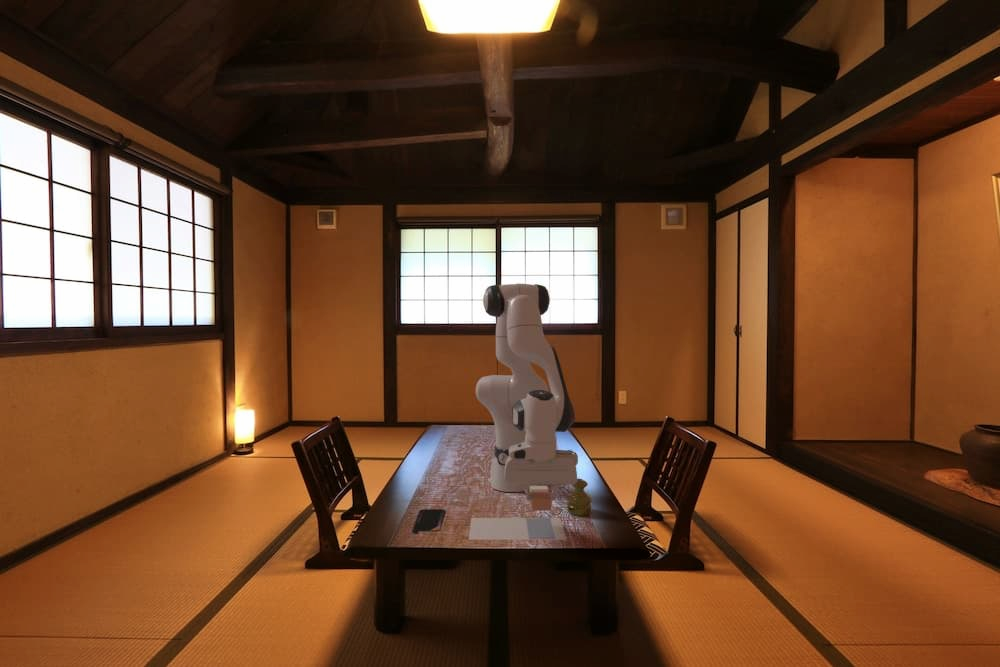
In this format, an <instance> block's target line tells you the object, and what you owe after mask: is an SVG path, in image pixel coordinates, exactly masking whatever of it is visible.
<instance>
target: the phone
mask: <svg viewBox="0 0 1000 667" xmlns="http://www.w3.org/2000/svg"><path fill="white" fill-rule="evenodd" d="M445 515H446V509H444V508H443V509H442V508H441V509H439V508H438V509H436V508H435V509H433V508H432V509H431V508H430V509H429V508H424V509H420V510H419V512H418V514H417V516H416V519H415V522H414V523H413V526H412V528H411V532H412V533H413V534H419V532H439V531H440V530H441V528H442V525H443V521H444V518H445ZM438 527H439V529H436V530H435V528H438Z"/></svg>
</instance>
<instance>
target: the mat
mask: <svg viewBox="0 0 1000 667" xmlns="http://www.w3.org/2000/svg"><path fill="white" fill-rule="evenodd" d="M567 539H568V538H567V535H566V533H565V529H564V526H563V523H562V521H561V517H471V519H470V526H469V534H468V541H469V540H470V541H531V540H532V541H567Z"/></svg>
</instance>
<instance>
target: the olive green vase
mask: <svg viewBox="0 0 1000 667" xmlns="http://www.w3.org/2000/svg"><path fill="white" fill-rule="evenodd" d="M588 485H589V484H588V481H586V480H584V479H582V478H577V482H576V483H575V484H574V485H572V487H573V488H574V490H573V491H572V492H571V493H570V494H568V495H567V497H566V499H567V500H566V501H567V503H566V506H567V507H566V509H567V510H566V511H567V512H568V513H569V514H570V515H572V516H577V517H585V516H589V515H590V514H591V513H592V507H593V506H592V497H591V496H590V495H589V494H588V493H587V492H586V491H585V488H586V487H587V486H588Z"/></svg>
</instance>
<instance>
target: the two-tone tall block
mask: <svg viewBox="0 0 1000 667" xmlns="http://www.w3.org/2000/svg"><path fill="white" fill-rule="evenodd" d="M529 492H531V500H530V504H531V510H532V511H535V512H536V511H540V512H541V511H545V512H547V511H548V512H549V511H552V500H551V497H550V493H549V492H550V490H549V488H548V485H539V486H530V491H529Z"/></svg>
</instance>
